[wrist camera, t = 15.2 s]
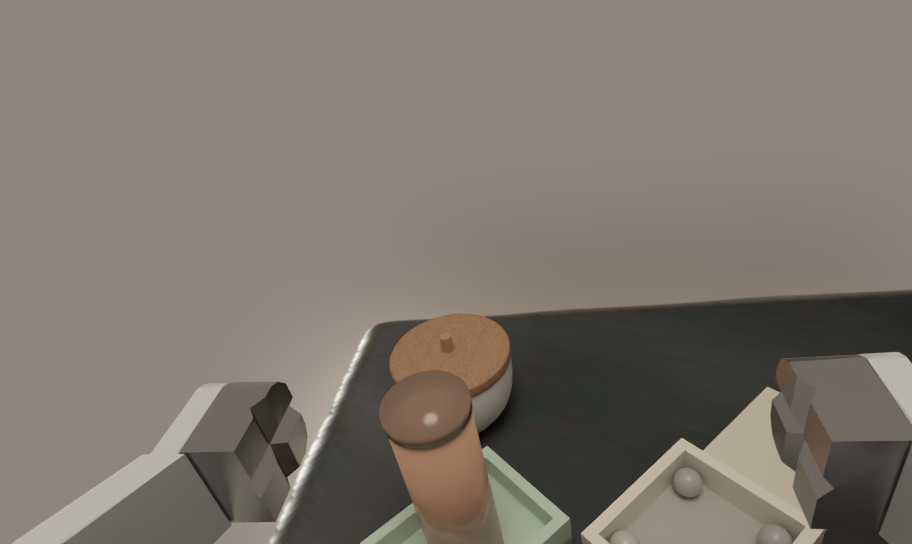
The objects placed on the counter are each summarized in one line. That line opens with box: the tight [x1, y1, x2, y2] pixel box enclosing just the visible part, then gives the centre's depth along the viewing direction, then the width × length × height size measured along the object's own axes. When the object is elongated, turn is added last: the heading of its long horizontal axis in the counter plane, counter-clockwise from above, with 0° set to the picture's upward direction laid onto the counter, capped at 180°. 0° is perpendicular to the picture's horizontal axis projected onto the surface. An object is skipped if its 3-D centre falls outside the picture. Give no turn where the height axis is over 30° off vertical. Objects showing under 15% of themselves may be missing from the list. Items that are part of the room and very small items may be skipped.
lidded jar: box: [389, 314, 512, 433], centre depth 50 cm, size 11×11×9 cm
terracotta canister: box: [379, 370, 504, 544], centre depth 36 cm, size 5×5×15 cm
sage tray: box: [360, 446, 573, 544], centre depth 40 cm, size 12×9×3 cm
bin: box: [581, 387, 827, 544], centre depth 39 cm, size 22×10×4 cm, turn 127°
